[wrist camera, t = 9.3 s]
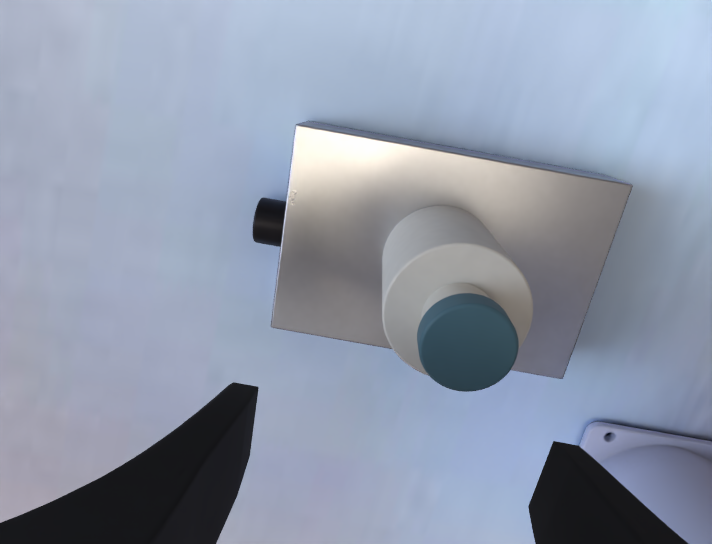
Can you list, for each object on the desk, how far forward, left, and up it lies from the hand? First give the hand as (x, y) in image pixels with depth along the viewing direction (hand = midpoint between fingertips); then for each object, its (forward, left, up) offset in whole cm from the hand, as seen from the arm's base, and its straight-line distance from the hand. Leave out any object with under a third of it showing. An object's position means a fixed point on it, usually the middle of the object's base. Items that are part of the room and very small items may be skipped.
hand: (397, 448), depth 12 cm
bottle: (-1, -3, -8) cm, 8 cm away
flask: (-1, -2, -10) cm, 11 cm away
